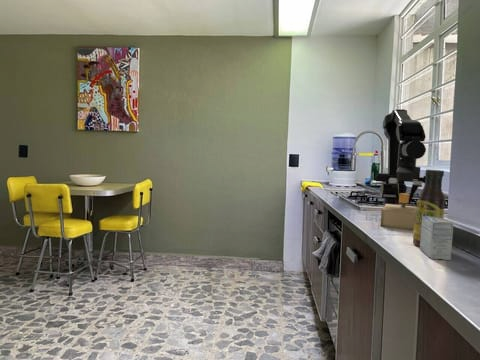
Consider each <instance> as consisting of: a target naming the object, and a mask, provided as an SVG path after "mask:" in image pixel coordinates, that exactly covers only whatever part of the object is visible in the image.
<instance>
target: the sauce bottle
mask: <svg viewBox="0 0 480 360" xmlns="http://www.w3.org/2000/svg"><path fill="white" fill-rule="evenodd" d="M424 174H425V175H424V176H426V179H425V183H424V186H423V188H422V190H421V193H420V194H419V197H418V199H417V201H416V207H417V208H416V216H415V224H414V230H413V234H412V243H413V245H414V246H417V247H420V237H421V224H422V217H423V216H434V217H441V218H444V215H445V203H446V197H445V194H444V192H443V190H442V189H443V188H442V187H443V186H442V185H443V184H442V183H443V177H444V174H445V170H440V169H430V168H429V169H428V168H427V169H425V173H424Z"/></svg>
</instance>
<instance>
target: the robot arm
mask: <svg viewBox="0 0 480 360" xmlns="http://www.w3.org/2000/svg"><path fill="white" fill-rule="evenodd" d="M382 129H383V135H384V136H385V137H386V139H387V173H385V172H378V173H377V174H376V175H375V182H381V186H380V190H379V198H380V199H383V205H382V208H383V207H384V206H385V204H394V205H400V203H399V194H400V193H406V194H407V190H408V188H407V184H406V183H405V182H407V183H409V182H410V183H412V184H411V188H410V192H409V203H407V204H408V205H410V204H411V202H412V199H413V198H414V196H415V193H416V191H417V190H418V188H422V186H423V183H424V184H425V179H426V175H423V177H422V176H421V167H420V166H417V160H419V159H421V158H422V157H424V156H425V154H426V152H427V148H426V145H425V144H424V142H425V141H426V133H425V130H424V126H423V125H422V123H421V122H420V121H419V120H413V119H412V118H411V116H410V115H409V114H408V110H407V109H398V108H396V109H393V110H392V111H391V112H390V113H388V114H387V115H385V116H384V119H383V121H382Z"/></svg>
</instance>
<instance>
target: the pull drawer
mask: <svg viewBox="0 0 480 360" xmlns="http://www.w3.org/2000/svg"><path fill="white" fill-rule="evenodd" d="M409 197H410V193H407V192H406V193H400V194H399V205H394V204H385V207H396V208H406V209H416V208H417V206H416V205H415V206H413V205H406V204H408V203H409Z"/></svg>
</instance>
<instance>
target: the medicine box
mask: <svg viewBox="0 0 480 360" xmlns="http://www.w3.org/2000/svg"><path fill="white" fill-rule="evenodd" d="M453 236H454V222H451V221H450V220H448V219H446V218H444V217H443V218H441V217H434V216H423V217H422V224H421V237H420V246H419V250H420V251H421V252H422V253H424V255H426V256H427V257H428V258H429V257H430V258H429V259H432V260H438V259H443V260H442V261H449V260H450V261H451V260H452V250H453V249H452V247H453Z"/></svg>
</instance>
